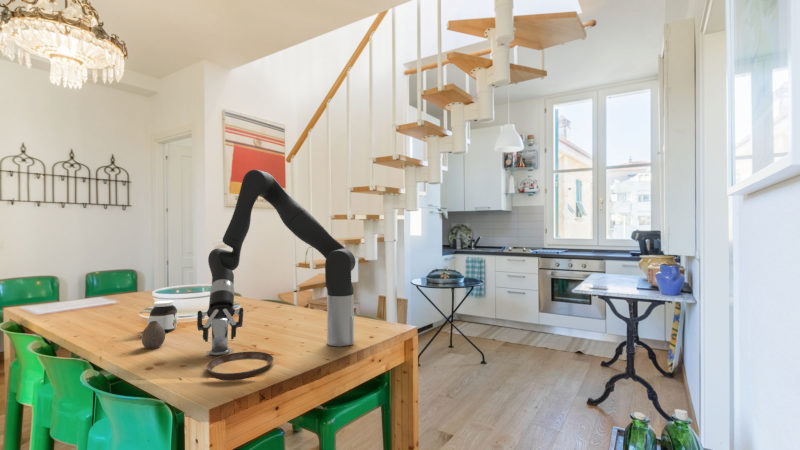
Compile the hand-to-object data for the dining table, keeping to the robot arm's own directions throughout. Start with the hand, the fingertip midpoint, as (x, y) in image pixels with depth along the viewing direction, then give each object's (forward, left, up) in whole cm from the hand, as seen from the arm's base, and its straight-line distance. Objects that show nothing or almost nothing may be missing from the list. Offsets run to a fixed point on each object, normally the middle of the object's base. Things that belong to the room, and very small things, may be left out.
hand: (219, 339), depth 120 cm
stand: (0, -1, -6) cm, 6 cm away
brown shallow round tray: (-11, +12, -6) cm, 17 cm away
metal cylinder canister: (0, -1, -5) cm, 5 cm away
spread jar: (+37, -36, -6) cm, 53 cm away
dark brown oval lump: (+27, -13, -6) cm, 31 cm away
